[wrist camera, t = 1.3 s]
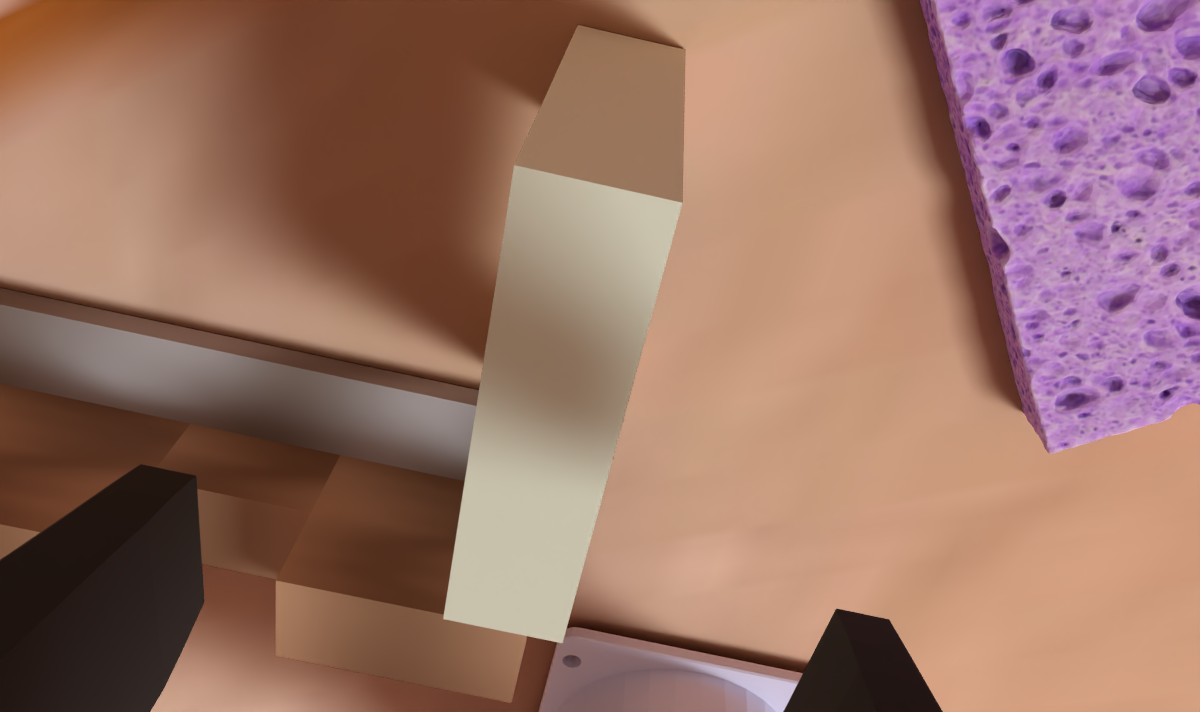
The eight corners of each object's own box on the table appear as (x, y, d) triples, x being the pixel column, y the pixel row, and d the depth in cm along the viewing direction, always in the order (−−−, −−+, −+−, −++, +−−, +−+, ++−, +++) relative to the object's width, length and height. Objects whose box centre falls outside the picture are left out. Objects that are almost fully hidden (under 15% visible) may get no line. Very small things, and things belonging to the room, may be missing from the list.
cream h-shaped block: (598, 397, 21) (562, 643, 15) (513, 379, 21) (443, 618, 15) (685, 49, 16) (682, 203, 10) (577, 25, 16) (514, 164, 10)
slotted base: (573, 410, 21) (547, 553, 17) (527, 609, 25) (497, 762, 21) (-31, 281, 20) (-199, 398, 17) (17, 505, 24) (-110, 642, 20)
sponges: (1017, 405, 20) (1045, 457, 19) (861, -181, 15) (883, -175, 13) (1372, 303, 18) (1436, 352, 17) (1355, -421, 13) (1450, -449, 11)
